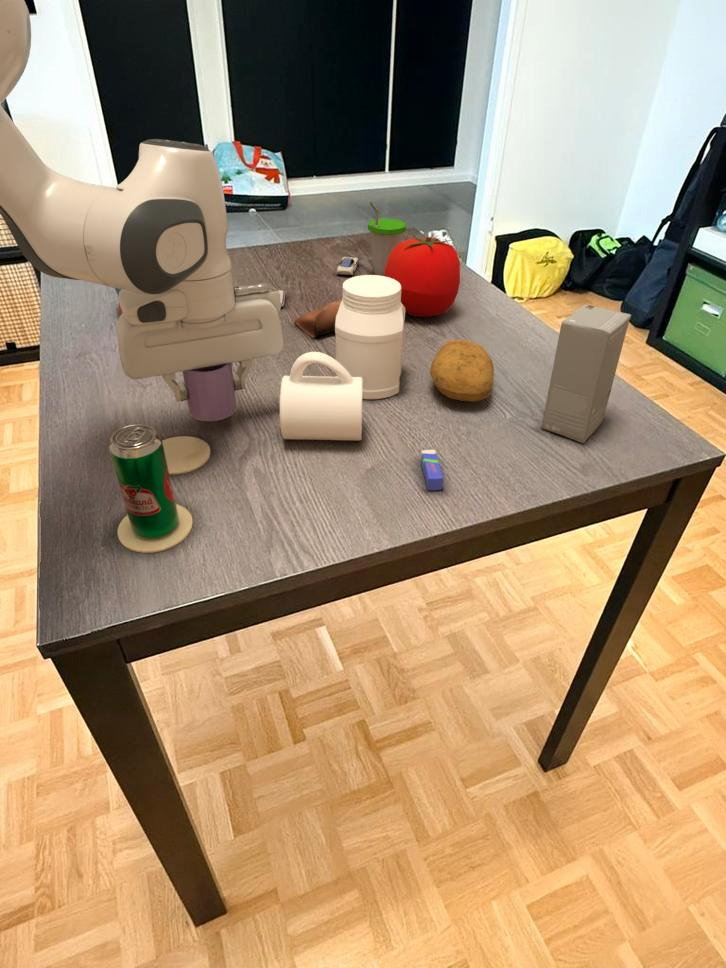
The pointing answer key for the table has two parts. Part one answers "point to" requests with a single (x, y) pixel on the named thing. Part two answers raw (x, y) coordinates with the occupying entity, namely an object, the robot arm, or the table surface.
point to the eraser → (431, 470)
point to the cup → (384, 239)
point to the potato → (463, 371)
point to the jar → (371, 333)
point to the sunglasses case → (319, 320)
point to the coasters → (180, 459)
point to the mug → (320, 402)
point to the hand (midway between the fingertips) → (210, 393)
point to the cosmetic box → (584, 371)
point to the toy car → (347, 266)
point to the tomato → (425, 275)
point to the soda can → (144, 480)
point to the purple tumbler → (210, 392)
